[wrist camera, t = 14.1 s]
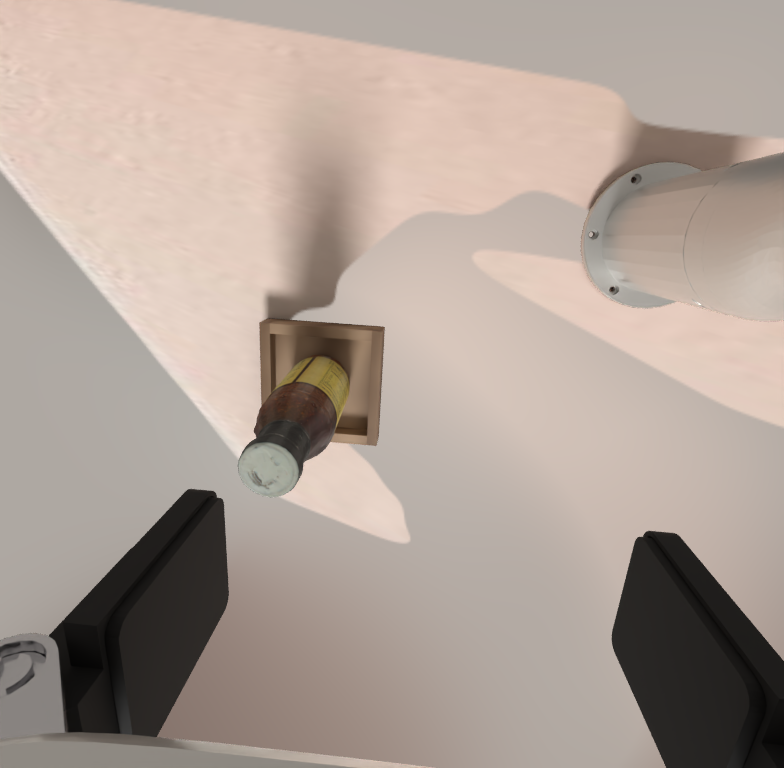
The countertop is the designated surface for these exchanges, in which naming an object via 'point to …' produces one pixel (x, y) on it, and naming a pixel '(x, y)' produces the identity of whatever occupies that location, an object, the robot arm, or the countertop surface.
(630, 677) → the robot arm
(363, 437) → the tray
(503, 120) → the countertop surface
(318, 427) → the sauce bottle
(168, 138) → the countertop surface
